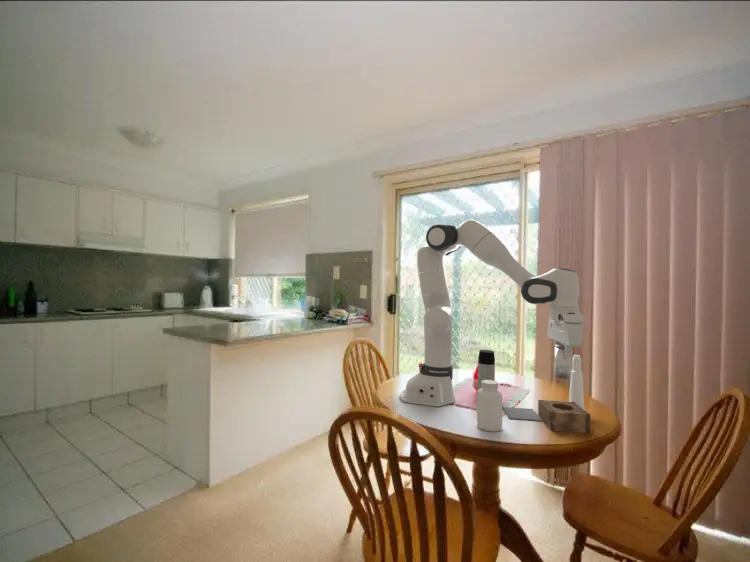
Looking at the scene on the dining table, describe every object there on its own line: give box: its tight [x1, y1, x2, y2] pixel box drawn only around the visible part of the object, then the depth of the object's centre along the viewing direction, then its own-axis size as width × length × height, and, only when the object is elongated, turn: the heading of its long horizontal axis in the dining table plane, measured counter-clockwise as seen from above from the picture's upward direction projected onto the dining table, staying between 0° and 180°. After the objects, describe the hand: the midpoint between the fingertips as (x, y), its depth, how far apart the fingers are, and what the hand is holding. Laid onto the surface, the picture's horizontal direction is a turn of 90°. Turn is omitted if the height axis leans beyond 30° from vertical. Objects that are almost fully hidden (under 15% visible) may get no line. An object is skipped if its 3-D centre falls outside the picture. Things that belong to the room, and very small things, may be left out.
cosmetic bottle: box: [568, 354, 586, 411], centre depth 125 cm, size 6×6×22 cm
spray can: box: [477, 349, 496, 391], centre depth 141 cm, size 7×7×20 cm
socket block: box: [537, 399, 591, 434], centre depth 116 cm, size 12×12×6 cm
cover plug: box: [554, 344, 573, 380], centre depth 116 cm, size 5×5×11 cm
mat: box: [502, 406, 543, 422], centre depth 124 cm, size 11×11×1 cm
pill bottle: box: [476, 380, 503, 432], centre depth 113 cm, size 8×8×15 cm
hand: (562, 355), depth 116 cm, fingers closed on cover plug, 5 cm apart
